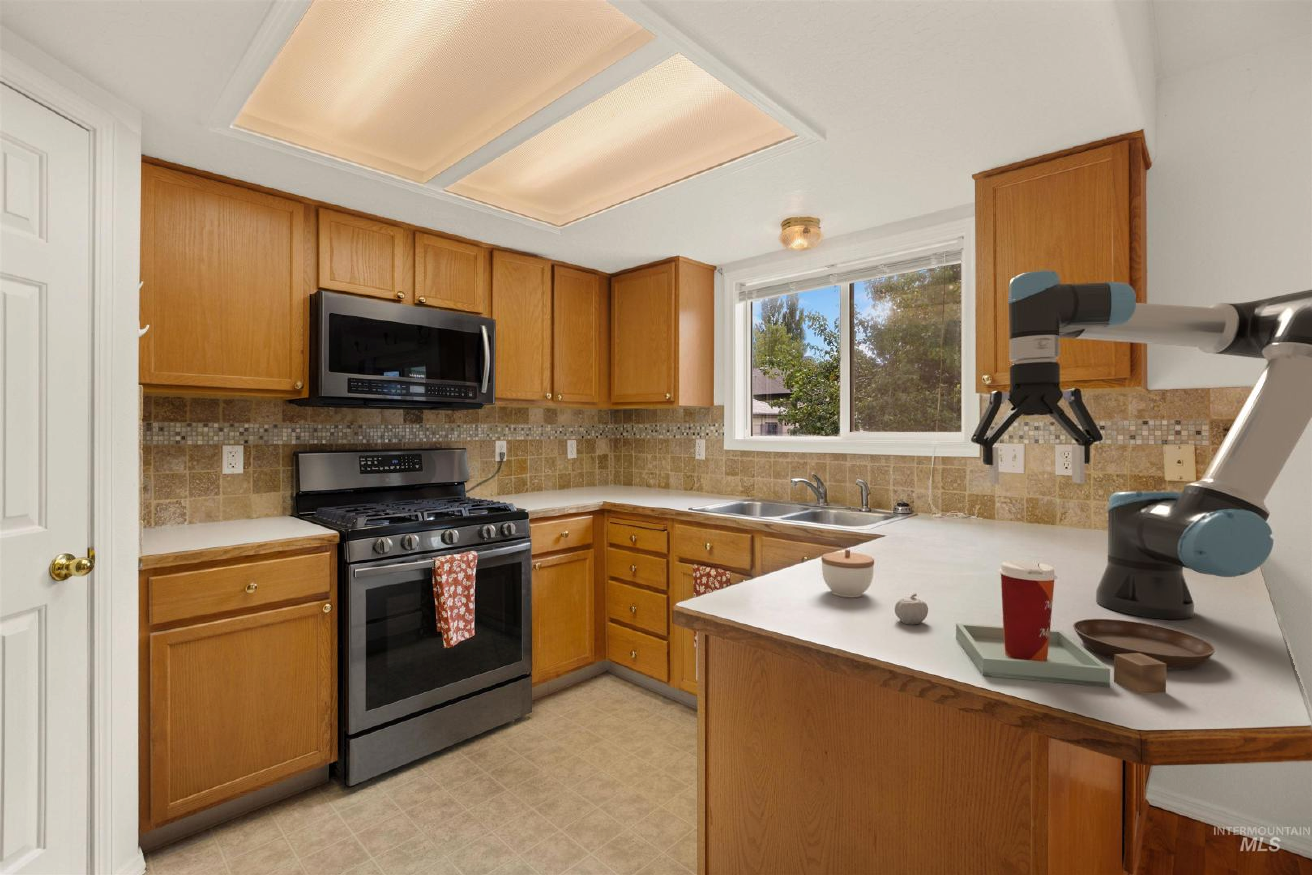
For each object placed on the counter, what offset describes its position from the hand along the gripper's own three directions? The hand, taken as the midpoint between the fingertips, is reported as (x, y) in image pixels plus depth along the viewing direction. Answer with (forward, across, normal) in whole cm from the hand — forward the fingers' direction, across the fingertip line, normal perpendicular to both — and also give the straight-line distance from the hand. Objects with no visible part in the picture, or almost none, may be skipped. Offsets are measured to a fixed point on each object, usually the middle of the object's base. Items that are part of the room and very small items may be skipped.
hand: (1035, 483), depth 109 cm
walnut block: (+26, +4, -24) cm, 35 cm away
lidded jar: (+25, -30, +17) cm, 43 cm away
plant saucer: (+27, +11, -9) cm, 30 cm away
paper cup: (+25, -8, -16) cm, 31 cm away
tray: (+26, -8, -16) cm, 31 cm away
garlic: (+25, -21, -1) cm, 33 cm away
